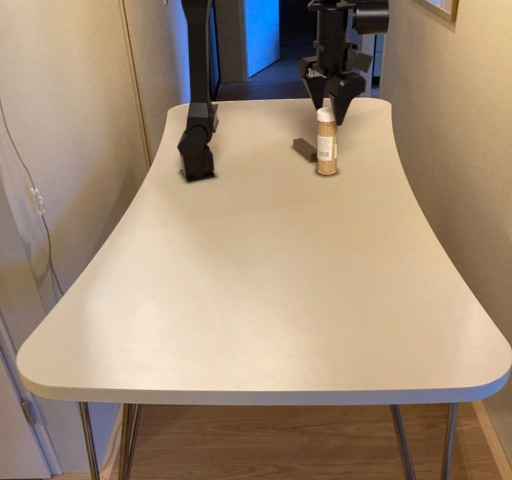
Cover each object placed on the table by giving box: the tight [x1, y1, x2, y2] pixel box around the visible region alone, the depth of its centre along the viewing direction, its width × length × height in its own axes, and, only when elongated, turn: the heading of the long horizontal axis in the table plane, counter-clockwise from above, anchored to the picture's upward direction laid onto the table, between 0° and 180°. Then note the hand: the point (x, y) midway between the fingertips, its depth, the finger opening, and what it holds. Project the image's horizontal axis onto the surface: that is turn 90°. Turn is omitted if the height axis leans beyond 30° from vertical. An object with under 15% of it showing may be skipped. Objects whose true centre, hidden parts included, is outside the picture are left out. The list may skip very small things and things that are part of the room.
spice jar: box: [316, 106, 338, 176], centre depth 119 cm, size 5×5×14 cm
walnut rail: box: [292, 137, 318, 163], centre depth 131 cm, size 2×10×2 cm, turn 21°
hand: (328, 118), depth 116 cm, fingers open, 9 cm apart
